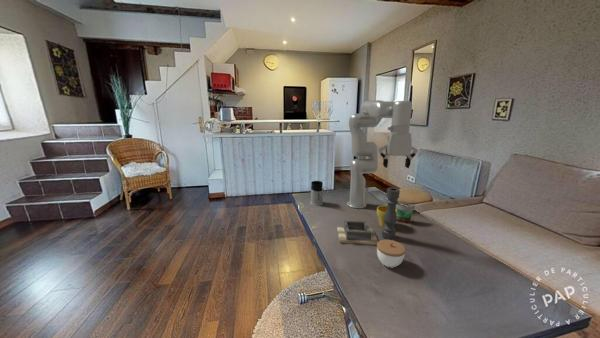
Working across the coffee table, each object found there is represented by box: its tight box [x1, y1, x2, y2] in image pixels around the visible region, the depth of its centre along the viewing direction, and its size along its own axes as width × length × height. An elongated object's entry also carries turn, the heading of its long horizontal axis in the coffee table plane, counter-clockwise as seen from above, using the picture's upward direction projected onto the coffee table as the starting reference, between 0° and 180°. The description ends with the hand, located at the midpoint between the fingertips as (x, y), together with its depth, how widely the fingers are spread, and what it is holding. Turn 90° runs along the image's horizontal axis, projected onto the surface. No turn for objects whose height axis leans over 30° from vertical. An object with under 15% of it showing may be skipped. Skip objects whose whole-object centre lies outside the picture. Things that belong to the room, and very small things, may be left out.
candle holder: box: [381, 187, 401, 241], centre depth 111 cm, size 6×6×25 cm
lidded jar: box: [376, 239, 406, 269], centre depth 93 cm, size 11×11×9 cm
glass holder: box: [309, 180, 329, 207], centre depth 152 cm, size 9×14×15 cm, turn 43°
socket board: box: [336, 220, 379, 245], centre depth 113 cm, size 13×18×6 cm
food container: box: [396, 203, 416, 224], centre depth 129 cm, size 12×6×10 cm, turn 68°
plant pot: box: [376, 205, 397, 228], centre depth 124 cm, size 10×10×10 cm
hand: (396, 167), depth 105 cm, fingers open, 9 cm apart
